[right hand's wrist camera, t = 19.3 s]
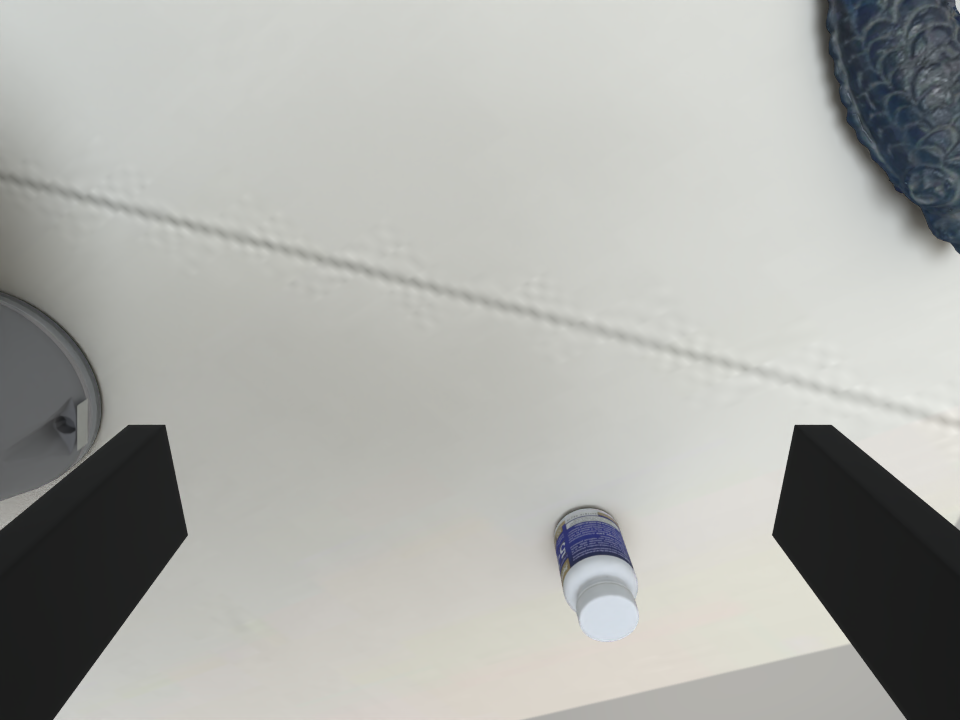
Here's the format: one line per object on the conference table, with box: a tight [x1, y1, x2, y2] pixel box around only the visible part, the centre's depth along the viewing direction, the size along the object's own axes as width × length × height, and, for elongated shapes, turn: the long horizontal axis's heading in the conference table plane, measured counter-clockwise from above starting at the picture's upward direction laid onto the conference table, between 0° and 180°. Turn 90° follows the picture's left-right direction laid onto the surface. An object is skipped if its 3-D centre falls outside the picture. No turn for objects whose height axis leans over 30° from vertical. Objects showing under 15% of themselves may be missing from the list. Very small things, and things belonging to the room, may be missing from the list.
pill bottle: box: [554, 508, 639, 642], centre depth 44 cm, size 5×5×9 cm
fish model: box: [826, 0, 960, 254], centre depth 34 cm, size 7×21×5 cm, turn 33°
